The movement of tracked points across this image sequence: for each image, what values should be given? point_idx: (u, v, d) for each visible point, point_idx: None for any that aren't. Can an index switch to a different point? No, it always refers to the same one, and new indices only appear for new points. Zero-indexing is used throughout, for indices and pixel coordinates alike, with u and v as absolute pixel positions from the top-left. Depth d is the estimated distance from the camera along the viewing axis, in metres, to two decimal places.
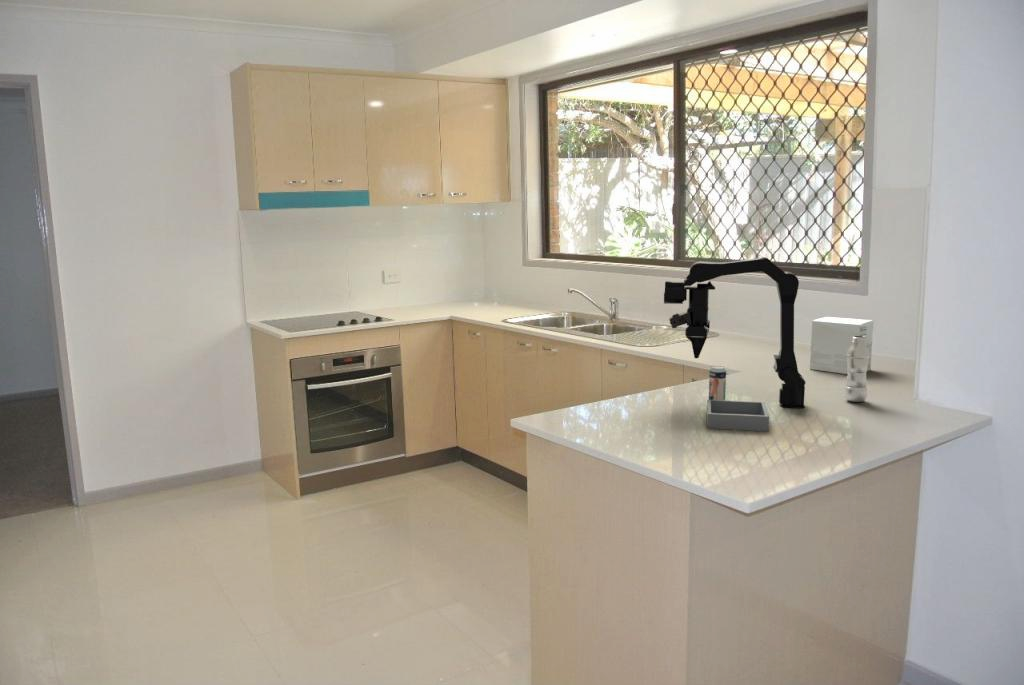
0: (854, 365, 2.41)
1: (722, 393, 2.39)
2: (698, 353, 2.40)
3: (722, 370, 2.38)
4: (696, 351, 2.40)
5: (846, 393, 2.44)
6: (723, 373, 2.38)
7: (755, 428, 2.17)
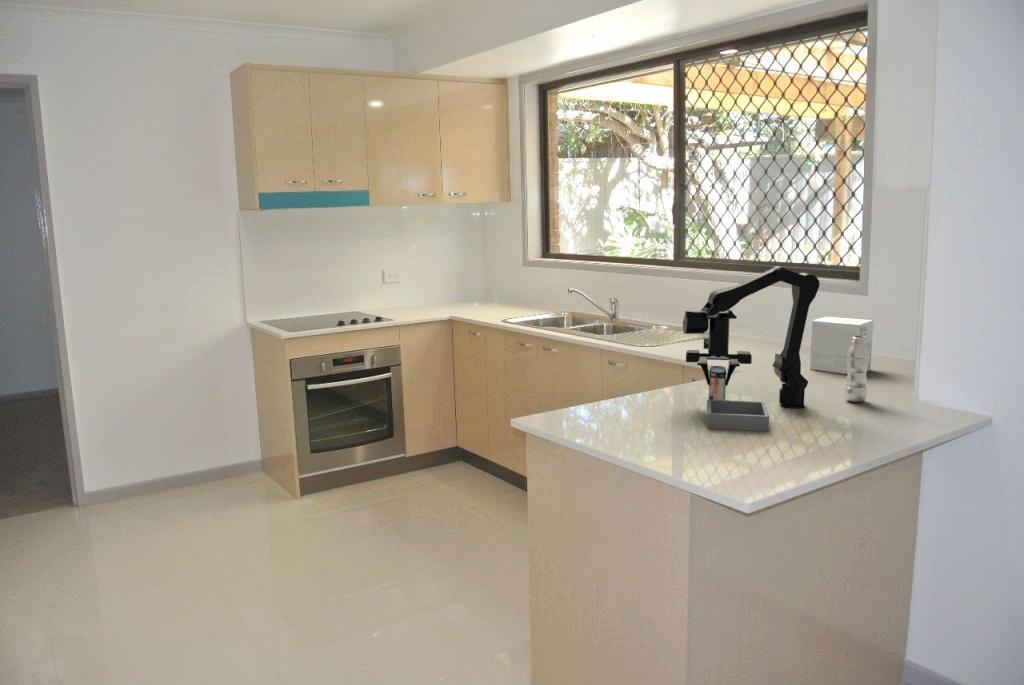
0: (854, 365, 2.41)
1: (722, 393, 2.39)
2: (706, 380, 2.40)
3: (722, 370, 2.38)
4: None
5: (846, 393, 2.44)
6: (723, 373, 2.38)
7: (755, 428, 2.17)
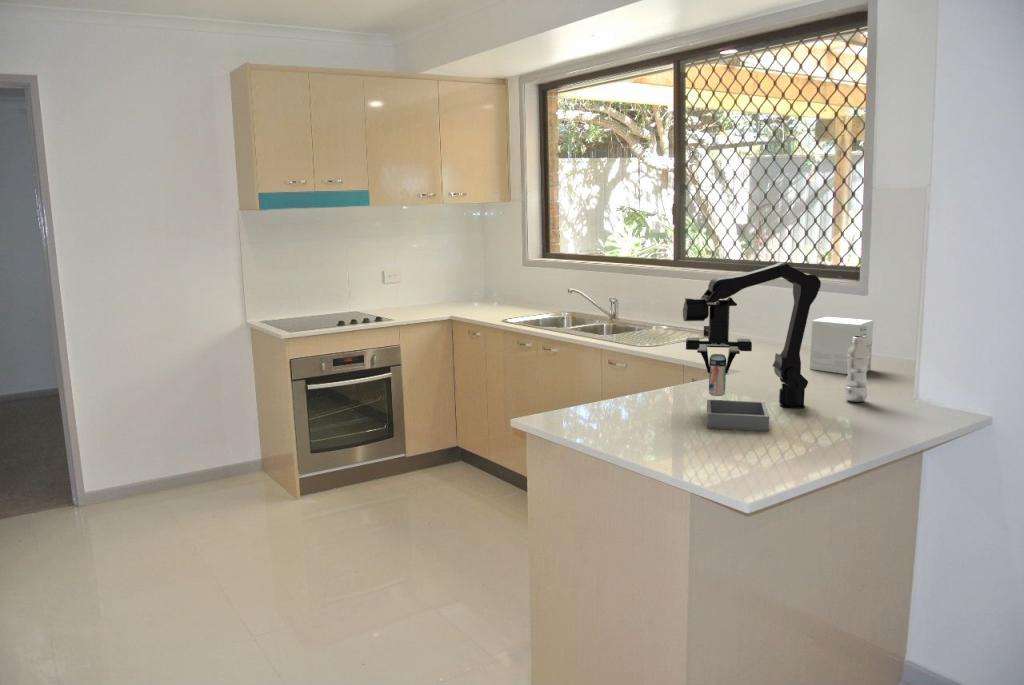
0: (854, 365, 2.41)
1: (722, 381, 2.38)
2: (706, 367, 2.40)
3: (722, 358, 2.37)
4: None
5: (846, 393, 2.44)
6: (723, 361, 2.37)
7: (755, 428, 2.17)
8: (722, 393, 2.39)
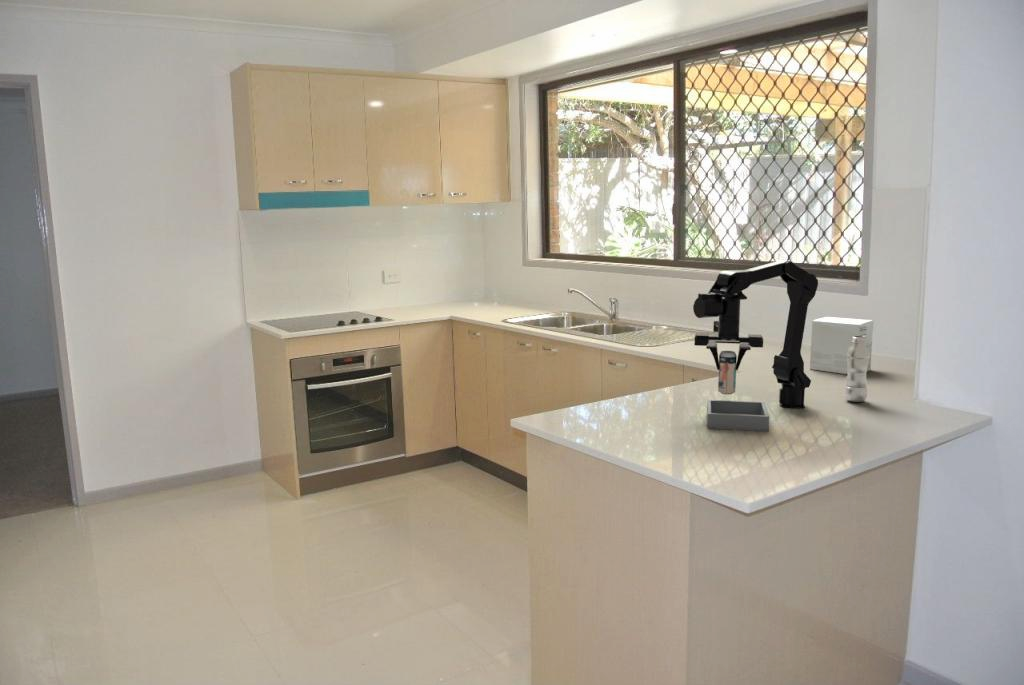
0: (854, 365, 2.41)
1: (732, 379, 2.29)
2: (716, 364, 2.31)
3: (732, 355, 2.28)
4: None
5: (846, 393, 2.44)
6: (733, 358, 2.28)
7: (755, 428, 2.17)
8: (732, 391, 2.30)
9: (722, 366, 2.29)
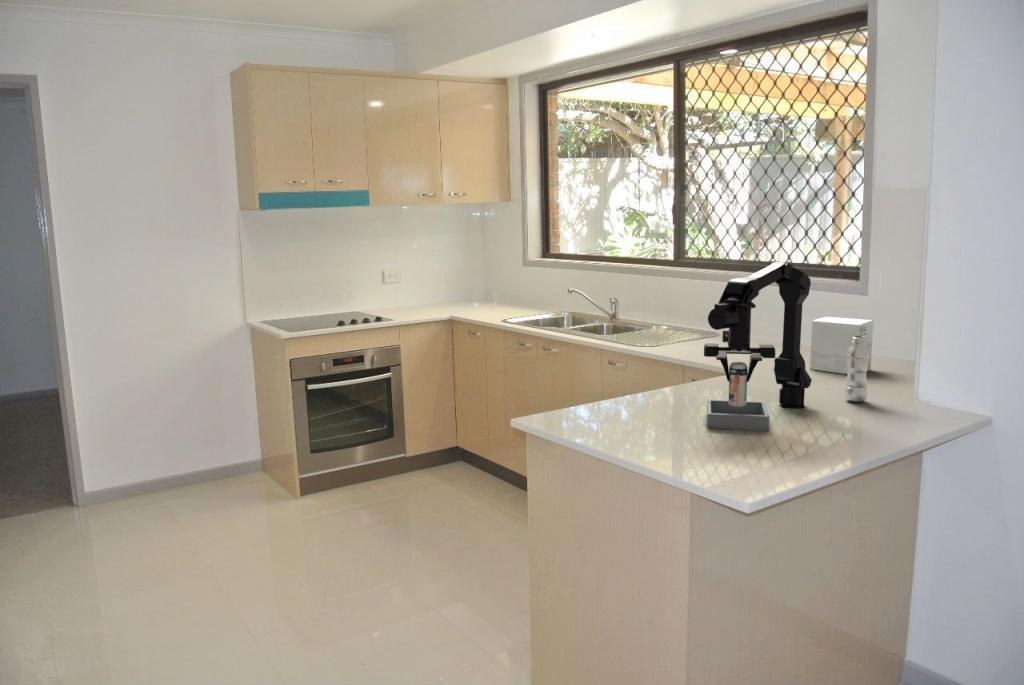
0: (854, 365, 2.41)
1: (743, 391, 2.22)
2: (726, 375, 2.23)
3: (743, 366, 2.21)
4: None
5: (846, 393, 2.44)
6: (744, 370, 2.21)
7: (755, 428, 2.17)
8: (743, 404, 2.22)
9: (733, 378, 2.22)
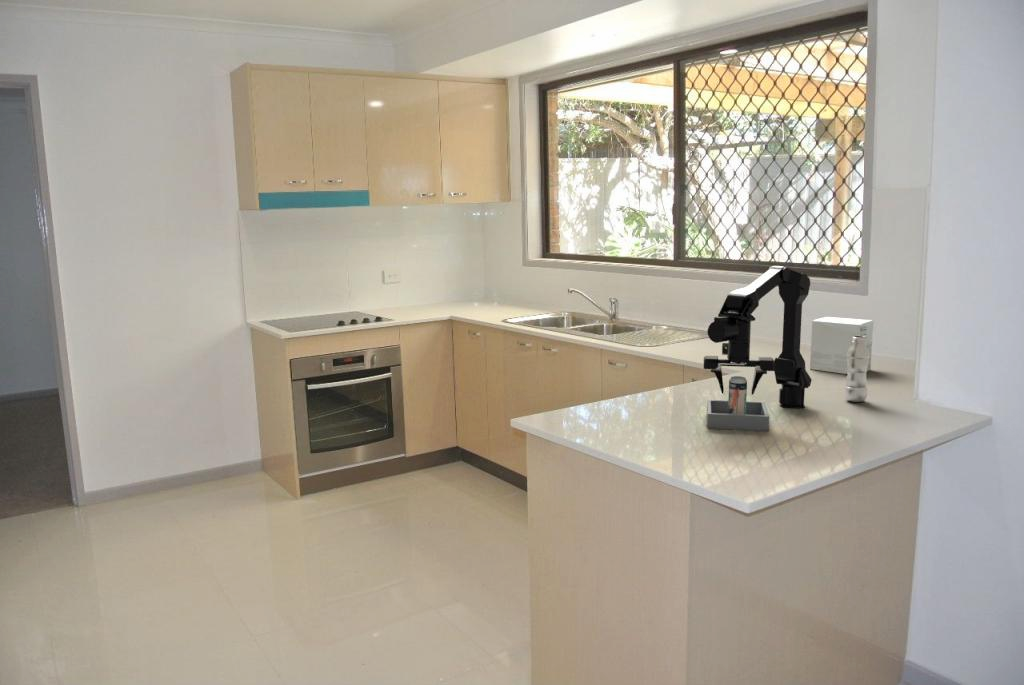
0: (854, 365, 2.41)
1: (743, 406, 2.22)
2: (720, 388, 2.24)
3: (743, 381, 2.21)
4: None
5: (846, 393, 2.44)
6: (744, 384, 2.21)
7: (755, 428, 2.17)
8: None
9: (732, 392, 2.22)
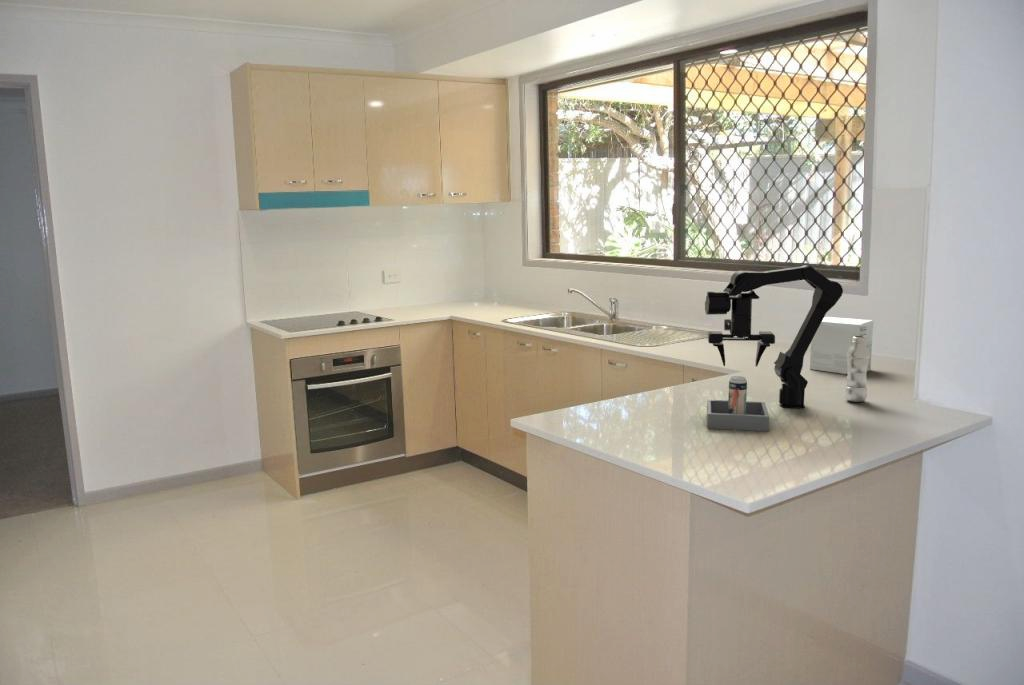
0: (854, 365, 2.41)
1: (743, 406, 2.22)
2: (722, 361, 2.40)
3: (743, 381, 2.21)
4: (721, 358, 2.41)
5: (846, 393, 2.44)
6: (744, 384, 2.21)
7: (755, 428, 2.17)
8: None
9: (732, 392, 2.22)
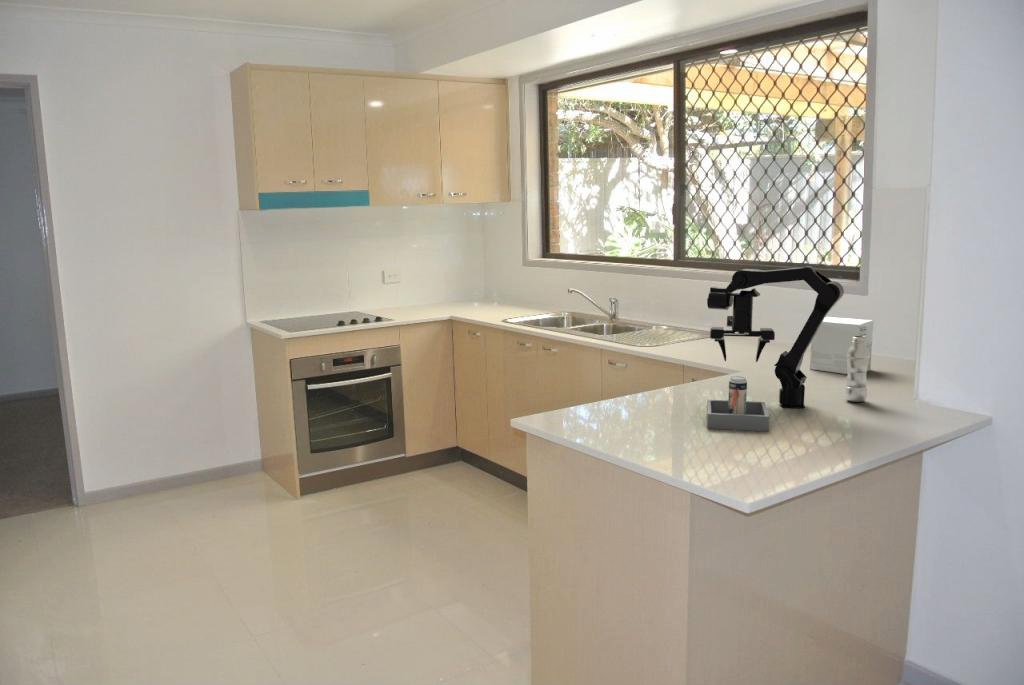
0: (854, 365, 2.41)
1: (743, 406, 2.22)
2: (723, 356, 2.48)
3: (743, 381, 2.21)
4: None
5: (846, 393, 2.44)
6: (744, 384, 2.21)
7: (755, 428, 2.17)
8: None
9: (732, 392, 2.22)
